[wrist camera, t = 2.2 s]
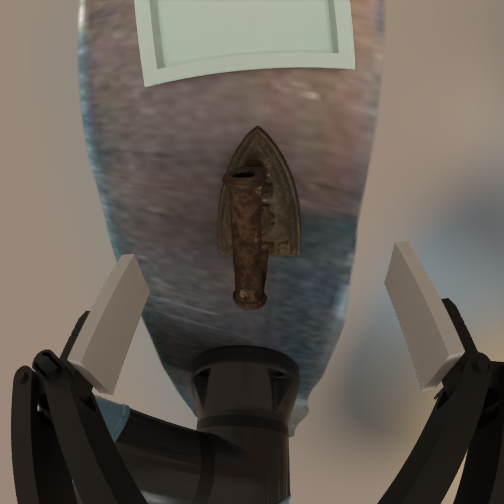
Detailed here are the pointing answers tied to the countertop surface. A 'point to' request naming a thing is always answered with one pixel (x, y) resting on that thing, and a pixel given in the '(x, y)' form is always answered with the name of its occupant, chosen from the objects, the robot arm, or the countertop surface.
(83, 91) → the countertop surface
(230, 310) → the countertop surface
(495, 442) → the robot arm
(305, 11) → the iron rest
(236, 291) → the clothes iron
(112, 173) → the countertop surface
